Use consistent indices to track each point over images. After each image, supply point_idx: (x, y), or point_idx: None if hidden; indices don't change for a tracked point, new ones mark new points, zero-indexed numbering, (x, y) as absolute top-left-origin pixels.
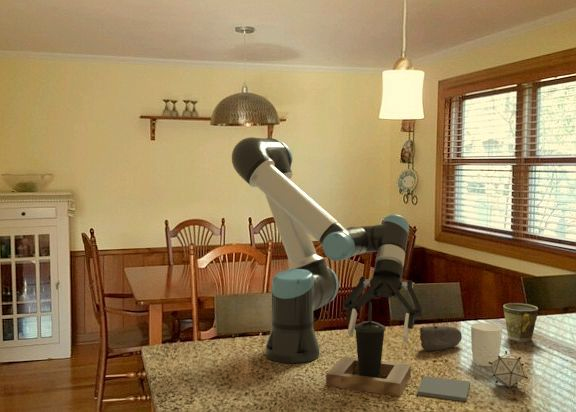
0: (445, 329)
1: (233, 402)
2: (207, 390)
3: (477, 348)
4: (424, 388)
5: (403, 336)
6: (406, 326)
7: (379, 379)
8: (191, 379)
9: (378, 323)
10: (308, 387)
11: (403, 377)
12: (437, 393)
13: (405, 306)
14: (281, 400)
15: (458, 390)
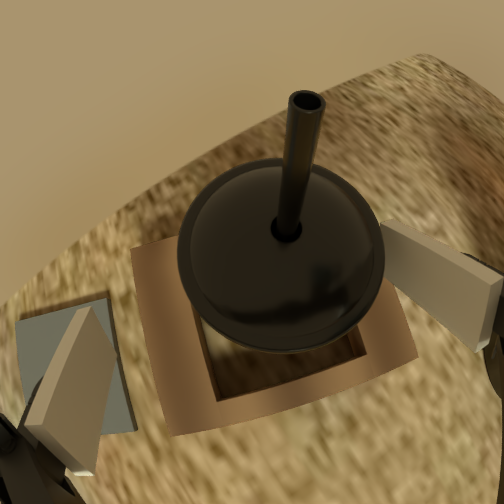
0: None
1: (391, 79)
2: (451, 98)
3: None
4: None
5: (87, 307)
6: (60, 347)
7: None
8: (496, 122)
9: (238, 279)
10: (365, 179)
11: (138, 302)
12: (63, 313)
13: (39, 484)
14: (349, 108)
15: (33, 361)
